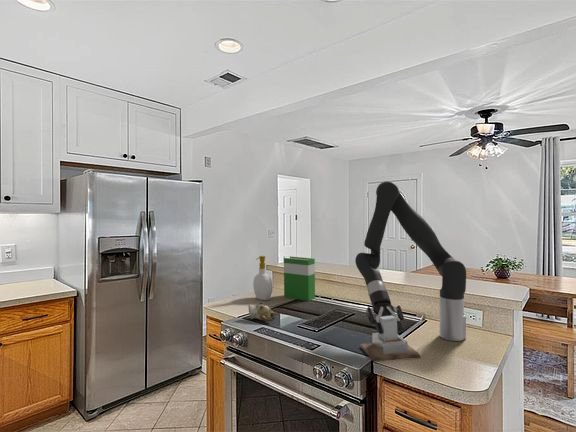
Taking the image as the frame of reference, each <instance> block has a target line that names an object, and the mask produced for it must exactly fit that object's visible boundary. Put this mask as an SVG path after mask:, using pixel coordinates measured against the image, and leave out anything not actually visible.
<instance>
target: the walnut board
mask: <svg viewBox="0 0 576 432" xmlns="http://www.w3.org/2000/svg"><path fill="white" fill-rule="evenodd" d="M360 348H361V349H362V350H363V351H364V352H365V353H366V355H367V356H368V357H369V358H370V359H371V360H372V362H383V361H396V359H398V360H408V359H410V360H411V359H420V358H421V353H419V352H418V351H416V350H415V349H414V348H413V347H412V346H411V345H409V343H407V354H399V355H387V356H383V355H382V354H381V353H380V352H379V351H378V350H377V349H376V348H375V347H374V346H373V345H372V342H370V343H369V342H368V343H361V344H360Z"/></svg>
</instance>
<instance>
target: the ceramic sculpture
mask: <svg viewBox="0 0 576 432" xmlns="http://www.w3.org/2000/svg"><path fill="white" fill-rule="evenodd" d="M248 313H249V318H250V319H251V320H255V319H257V320H259V321H260V320H261V321H264V322H266V323H267V322H272V321H274V319H273V318H274V317H276V316H278V315H280V312H277V313H276V312H274V311H273V310H272V309H271V307H270V306H269V305H266V304H264V303H263V302H260V303H257V305H254V304H250V303H249V304H248Z"/></svg>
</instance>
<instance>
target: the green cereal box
mask: <svg viewBox="0 0 576 432" xmlns="http://www.w3.org/2000/svg"><path fill="white" fill-rule="evenodd" d="M315 261H316V259H315V258H310V257H303V256H302V257H301V256H300V257H299V256H292V255H291V256H289V258H288V257H283V291H284V292H283V298H289V299H295V300H300V301H306V302H309V301H312V300H314V299H315V298H316V272H315V271H316V270H315V269H316V267H315V266H316V265H315V263H316V262H315Z"/></svg>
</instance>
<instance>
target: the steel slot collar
mask: <svg viewBox="0 0 576 432" xmlns="http://www.w3.org/2000/svg"><path fill="white" fill-rule="evenodd" d="M371 337H372V339H371V341H372V342H371V343H372V345H373V346H374V347H375V348H376V349H377V350H378V351H379V352H380V353H381V354H382V355H383V356H387V355H399V354H407V344H408V340H406V339H404V337H402V336H401V335H399V334H398V341H394V342H384V341H383V340H382V339H381V338H380V337H379V333H378V332H373V333H372V334H371Z"/></svg>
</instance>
